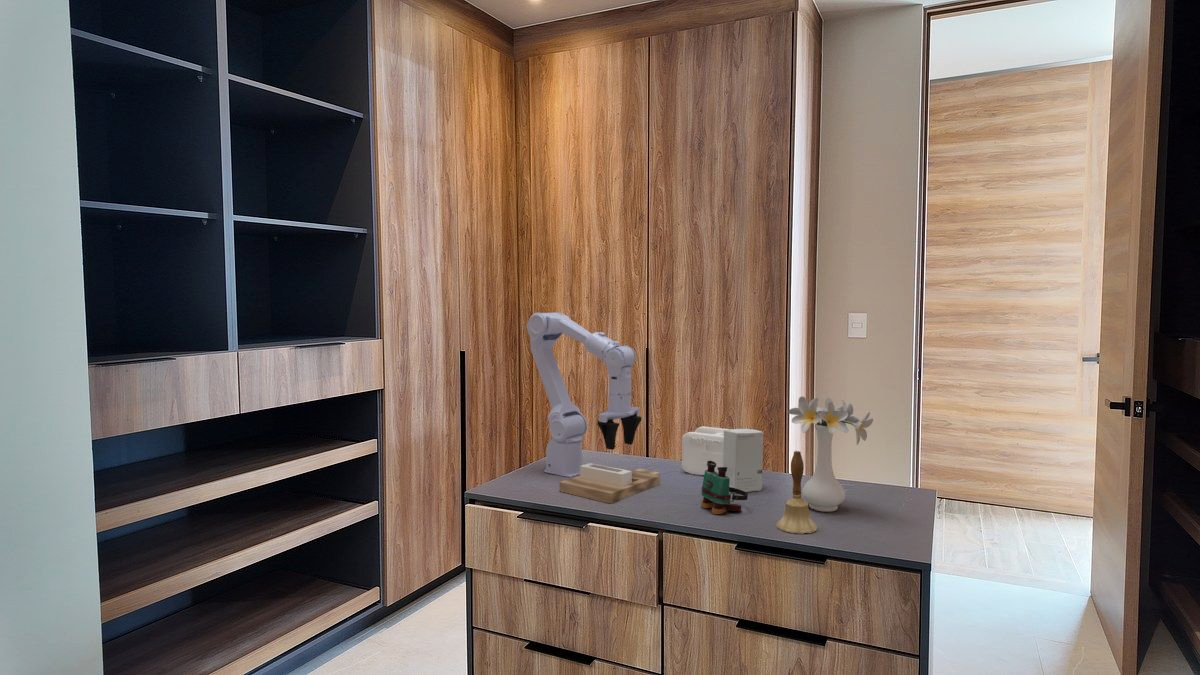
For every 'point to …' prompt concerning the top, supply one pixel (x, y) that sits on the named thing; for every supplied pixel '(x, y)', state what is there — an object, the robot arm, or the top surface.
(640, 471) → the block
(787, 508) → the hand bell
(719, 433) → the white rounded box
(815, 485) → the flower vase
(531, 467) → the top surface
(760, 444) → the skincare box
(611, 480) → the white rectangular block
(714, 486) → the binoculars
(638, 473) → the keyhole board
